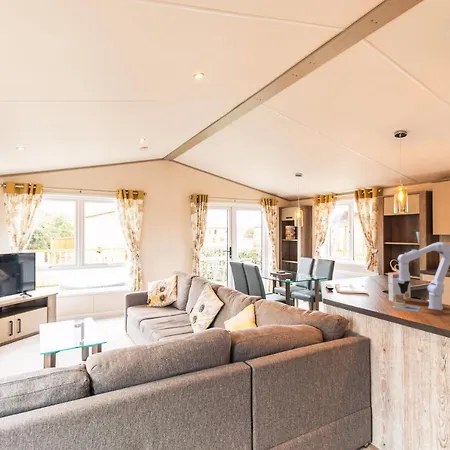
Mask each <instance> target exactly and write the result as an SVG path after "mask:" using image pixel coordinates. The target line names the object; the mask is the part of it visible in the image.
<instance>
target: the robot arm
mask: <svg viewBox="0 0 450 450" xmlns="http://www.w3.org/2000/svg"><path fill="white" fill-rule="evenodd" d="M432 251H433V252H436V253H439V255H440V256H441V259H440V262H439V264H438V268H437V269H436V273H435V275H434V278H433V279H432V280H431V281H430V283H429V284H428V285H427V287H426V290H427V292H428V306H427V309H431V310H438V311H442V310H443V309H444V306H443V294H444V292H445V291H444V289H445V288H444V287H445V284H444V281H445V278H446V275H447V273H448V271H449V268H450V243H447V242H441V241H437V242H434V243H431V244H430V245H427V246H425V247H423V248H419V249H418V250H417V249H411V251H408V252H404V254H399V255H398V257H397V259H396V260H397V261H398V272H399V278H397V280H400V283H399V282H398V285H399V287H400V290H401V294H405V292H407V290H408V285H409V283H410V284H411V280H410V281H409V273H410V272H409V271H410V270H409V269H410V268H409V263H411V261H414V260H416V259H420V257H421V256H422V255H424V254H427V253H430V252H432Z"/></svg>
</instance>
